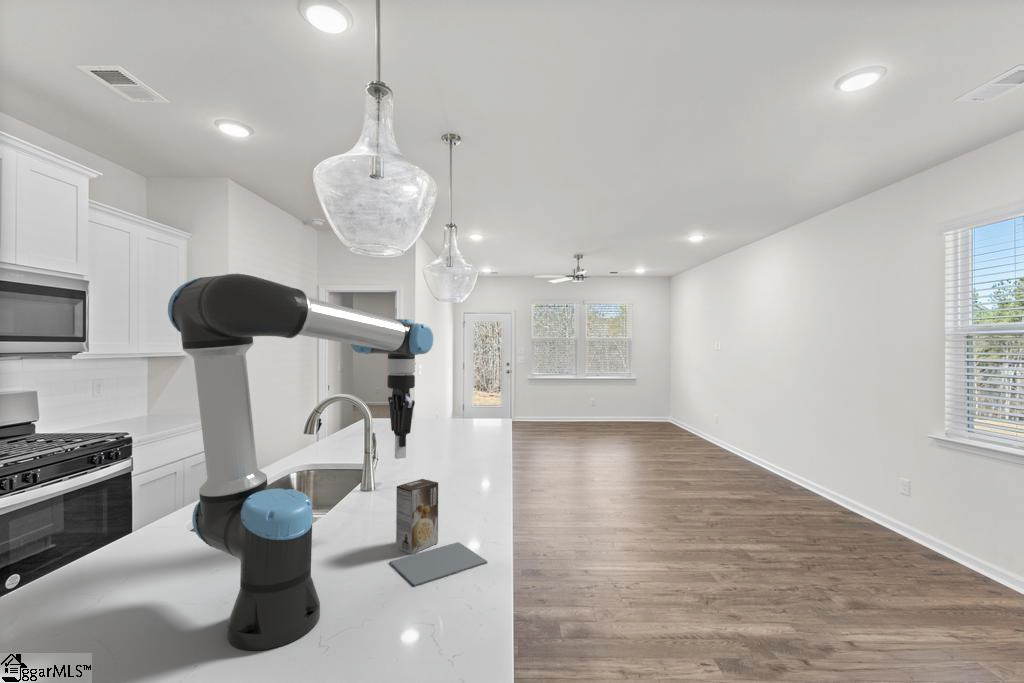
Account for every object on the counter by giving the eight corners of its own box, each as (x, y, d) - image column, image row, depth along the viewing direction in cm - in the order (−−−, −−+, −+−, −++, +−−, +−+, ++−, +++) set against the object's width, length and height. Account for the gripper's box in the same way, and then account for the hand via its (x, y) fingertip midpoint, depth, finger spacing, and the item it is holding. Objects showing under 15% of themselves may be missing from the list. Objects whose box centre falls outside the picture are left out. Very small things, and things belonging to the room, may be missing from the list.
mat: (414, 586, 99) (414, 584, 99) (389, 563, 109) (389, 561, 109) (487, 562, 110) (487, 561, 110) (458, 543, 121) (458, 542, 121)
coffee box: (422, 537, 125) (423, 477, 125) (438, 543, 121) (439, 482, 121) (394, 548, 117) (396, 485, 118) (411, 555, 114) (412, 490, 114)
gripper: (423, 374, 127) (422, 460, 126) (404, 372, 137) (403, 451, 137) (398, 375, 122) (397, 464, 122) (379, 373, 132) (378, 455, 132)
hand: (400, 457), depth 129 cm, fingers closed
